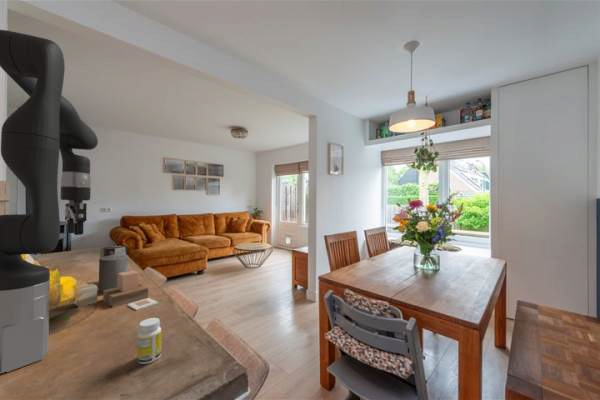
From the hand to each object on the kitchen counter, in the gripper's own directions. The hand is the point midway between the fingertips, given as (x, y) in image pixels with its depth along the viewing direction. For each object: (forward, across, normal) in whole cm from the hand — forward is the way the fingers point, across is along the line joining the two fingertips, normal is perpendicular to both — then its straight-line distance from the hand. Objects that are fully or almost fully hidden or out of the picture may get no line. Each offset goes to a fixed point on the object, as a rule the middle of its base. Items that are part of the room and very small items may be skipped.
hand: (75, 233), depth 82 cm
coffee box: (+25, -24, +19) cm, 39 cm away
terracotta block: (+22, +4, +15) cm, 27 cm away
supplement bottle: (+26, +49, +3) cm, 55 cm away
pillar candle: (+26, -12, +15) cm, 32 cm away
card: (+26, +14, +15) cm, 33 cm away
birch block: (+26, -3, +4) cm, 26 cm away
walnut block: (+26, +4, +14) cm, 30 cm away
